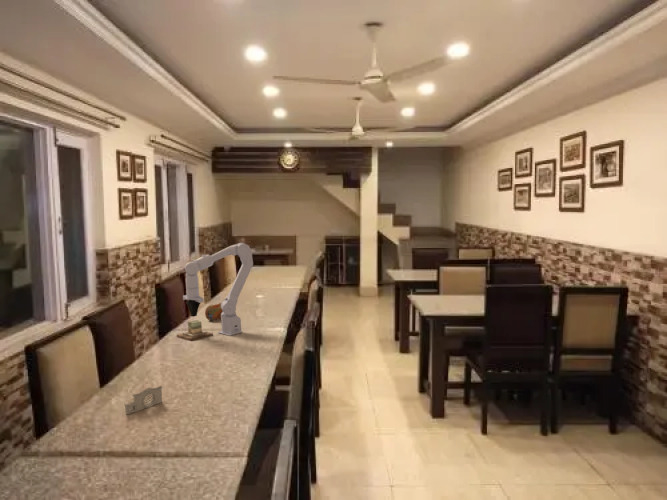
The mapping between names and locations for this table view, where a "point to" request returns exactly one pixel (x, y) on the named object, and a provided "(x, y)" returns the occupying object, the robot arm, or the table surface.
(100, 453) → the table surface
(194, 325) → the stack
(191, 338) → the plate
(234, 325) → the robot arm
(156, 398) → the garden wall model
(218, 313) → the tin
